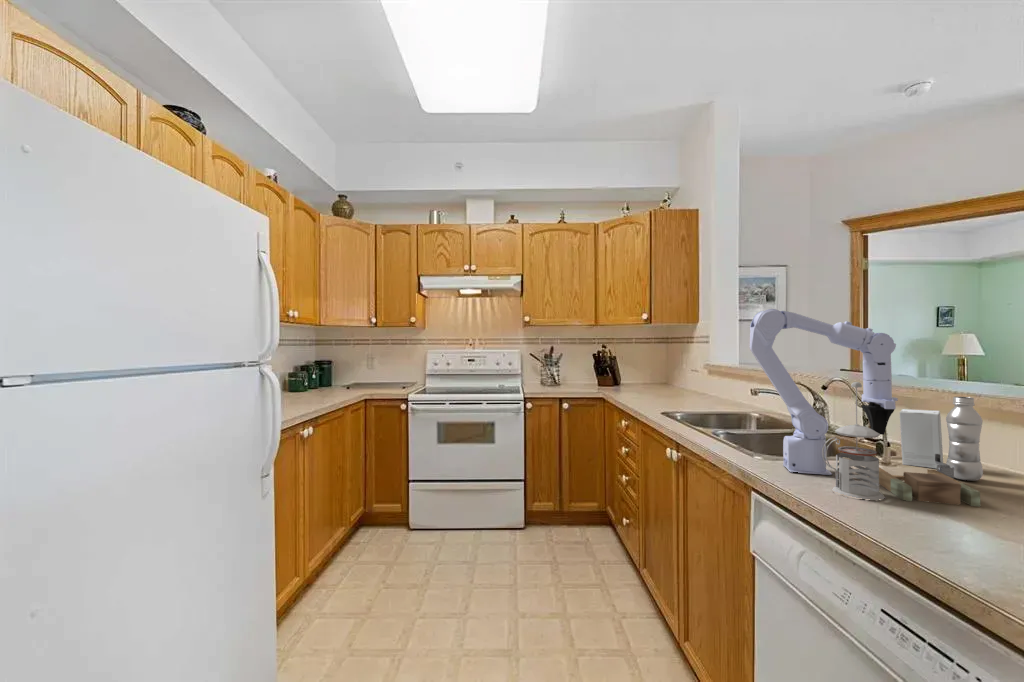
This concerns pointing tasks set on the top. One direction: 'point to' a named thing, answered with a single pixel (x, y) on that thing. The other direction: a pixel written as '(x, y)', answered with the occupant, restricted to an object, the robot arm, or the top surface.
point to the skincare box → (920, 437)
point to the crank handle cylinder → (944, 467)
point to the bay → (905, 491)
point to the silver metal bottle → (964, 439)
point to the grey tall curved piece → (856, 463)
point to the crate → (933, 487)
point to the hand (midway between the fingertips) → (878, 433)
